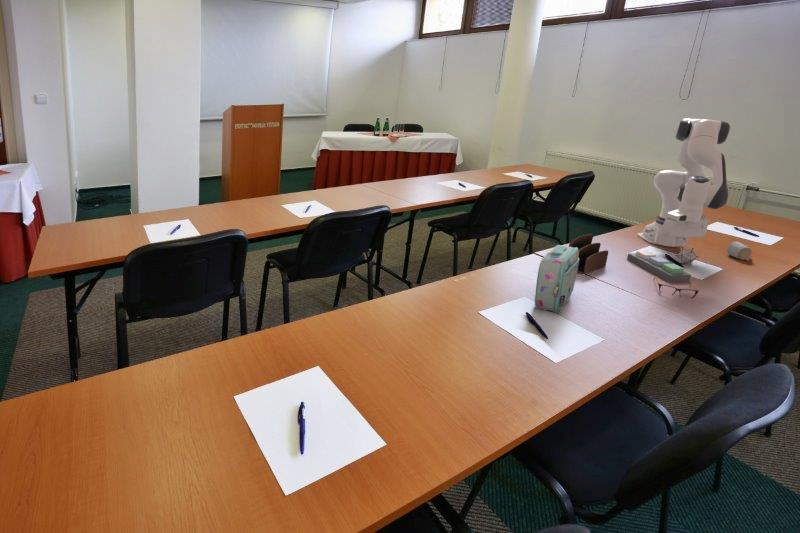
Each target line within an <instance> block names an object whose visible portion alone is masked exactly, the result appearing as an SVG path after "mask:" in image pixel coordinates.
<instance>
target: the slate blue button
mask: <svg viewBox="0 0 800 533" xmlns="http://www.w3.org/2000/svg"><path fill="white" fill-rule="evenodd" d="M648 262H650V263H652V264H654V265H656V266H662V265H663V264H671V261H669V260H668V259H666V258H663V257H661V256H656V257H649V260H648Z"/></svg>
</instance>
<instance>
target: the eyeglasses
mask: <svg viewBox="0 0 800 533" xmlns="http://www.w3.org/2000/svg"><path fill="white" fill-rule="evenodd" d="M655 280H656V283H657V285H658V287H659V288H658V290H659V293H662V291H661V288H662V286H664V287H670V288H673V289H675V291H673V293H671V294H672V296H673V295H674V294H676V292H679V296H680V297H682V295H681V291H684V290H685V291H692V292H694V295H693V296H692V297H690V299H693V298H695V297H696V296H697V294H699V290H698V288H697V287H696V285H695V284H694V283H690V285H689V288H691V287H694V289H695V290H694V289H689V288H677V287H674V286H671V285H667V284H661V283H660V282H659V280H658V278H657V277H654V278H653V281H655Z"/></svg>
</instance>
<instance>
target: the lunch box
mask: <svg viewBox="0 0 800 533" xmlns="http://www.w3.org/2000/svg"><path fill="white" fill-rule="evenodd" d="M578 256H579V251H578V248H577V247H575V248H573V247H569V246H565V245H561V244H557V245H555V246H554V247H553V248H552V249H551V250H549V252H547V254H545V255H544V256H543V257H542V259H541V261H540V263H539V265H538V271H537V276H536V283H535V284H536V285H535V294H534V306H535V308H536V309H539V310H545V311H551V312H554V313H556V314H558V313H561V311H563V308H564V306H565V305H566V304H567V303H568V301H569V300H570V298H571V296H572V293H573V290H574V287H575V282H576V278H577V275H578V273H577V270H578V265H579V258H578Z"/></svg>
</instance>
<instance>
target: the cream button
mask: <svg viewBox="0 0 800 533" xmlns="http://www.w3.org/2000/svg"><path fill="white" fill-rule="evenodd" d="M635 253H636V255H637V256H639V257H640V258H642V259H649V257H657V254H656V253H653V252H651V251H649V250H636V252H635Z"/></svg>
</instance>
